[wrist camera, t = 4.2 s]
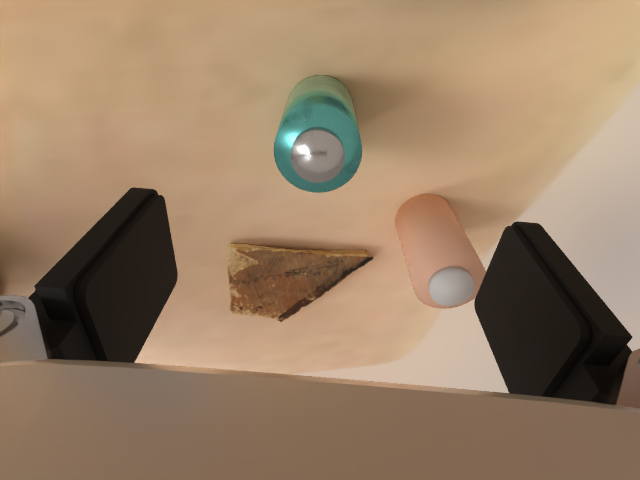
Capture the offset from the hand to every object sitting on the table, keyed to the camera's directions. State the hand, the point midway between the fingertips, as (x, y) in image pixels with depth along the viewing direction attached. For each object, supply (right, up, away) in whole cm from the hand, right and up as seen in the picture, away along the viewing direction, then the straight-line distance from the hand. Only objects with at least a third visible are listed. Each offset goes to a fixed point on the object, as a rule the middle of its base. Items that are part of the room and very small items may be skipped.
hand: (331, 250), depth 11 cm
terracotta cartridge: (+7, +2, +17) cm, 18 cm away
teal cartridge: (0, +8, +12) cm, 15 cm away
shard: (-3, -1, +20) cm, 20 cm away
